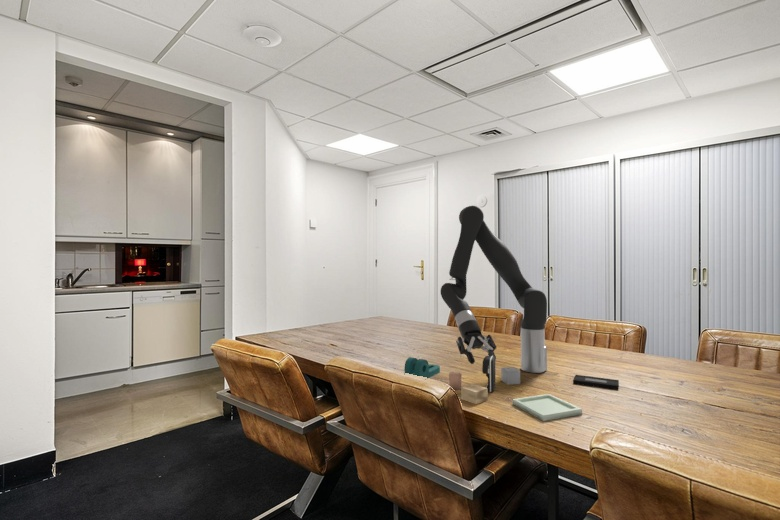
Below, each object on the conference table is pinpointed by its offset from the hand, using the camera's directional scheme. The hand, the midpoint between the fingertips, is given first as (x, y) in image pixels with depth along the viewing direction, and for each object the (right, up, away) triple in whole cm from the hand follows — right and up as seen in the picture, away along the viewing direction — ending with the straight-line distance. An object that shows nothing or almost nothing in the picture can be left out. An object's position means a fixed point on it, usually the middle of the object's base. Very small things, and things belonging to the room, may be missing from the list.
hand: (483, 361), depth 145 cm
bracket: (-20, -9, +15) cm, 27 cm away
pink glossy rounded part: (-10, -9, 0) cm, 14 cm away
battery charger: (+1, -9, -3) cm, 10 cm away
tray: (+14, -9, -21) cm, 27 cm away
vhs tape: (+41, -9, +2) cm, 42 cm away
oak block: (-6, -9, -12) cm, 17 cm away
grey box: (+11, -9, +5) cm, 15 cm away
